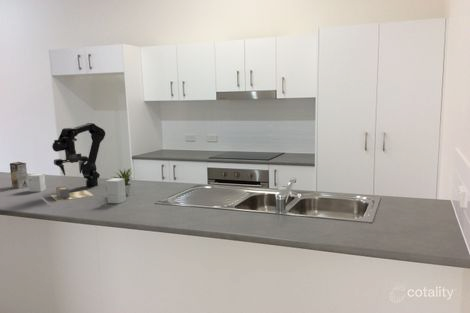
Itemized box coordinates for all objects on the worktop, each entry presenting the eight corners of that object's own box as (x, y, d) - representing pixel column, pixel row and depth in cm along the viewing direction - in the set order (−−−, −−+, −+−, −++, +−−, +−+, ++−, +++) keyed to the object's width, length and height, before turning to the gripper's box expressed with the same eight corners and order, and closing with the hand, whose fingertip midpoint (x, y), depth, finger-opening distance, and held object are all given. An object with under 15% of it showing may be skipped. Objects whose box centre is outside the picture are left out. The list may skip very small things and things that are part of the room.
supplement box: (126, 200, 218) (125, 178, 216) (118, 203, 211) (117, 181, 209) (115, 199, 220) (114, 177, 218) (107, 202, 213) (105, 180, 211)
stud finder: (65, 194, 229) (65, 186, 228) (69, 197, 222) (68, 188, 221) (56, 195, 226) (56, 187, 225) (60, 198, 219) (59, 190, 218)
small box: (46, 189, 247) (44, 173, 246) (40, 191, 242) (39, 175, 240) (34, 189, 248) (32, 173, 246) (28, 191, 242) (27, 175, 241)
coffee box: (11, 187, 256) (9, 163, 254) (21, 185, 262) (18, 161, 259) (19, 188, 252) (16, 164, 249) (28, 186, 257) (26, 162, 254)
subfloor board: (85, 191, 239) (85, 190, 239) (93, 196, 227) (93, 195, 226) (50, 197, 228) (50, 195, 227) (57, 202, 215) (57, 200, 215)
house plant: (120, 191, 240) (119, 165, 238) (141, 191, 237) (140, 165, 235) (108, 196, 226) (107, 169, 224) (130, 197, 224) (129, 169, 221)
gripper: (56, 152, 221) (59, 179, 224) (89, 148, 232) (92, 174, 235) (52, 150, 230) (55, 175, 232) (84, 146, 241) (86, 171, 243)
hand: (72, 174), depth 235 cm, fingers open, 9 cm apart
